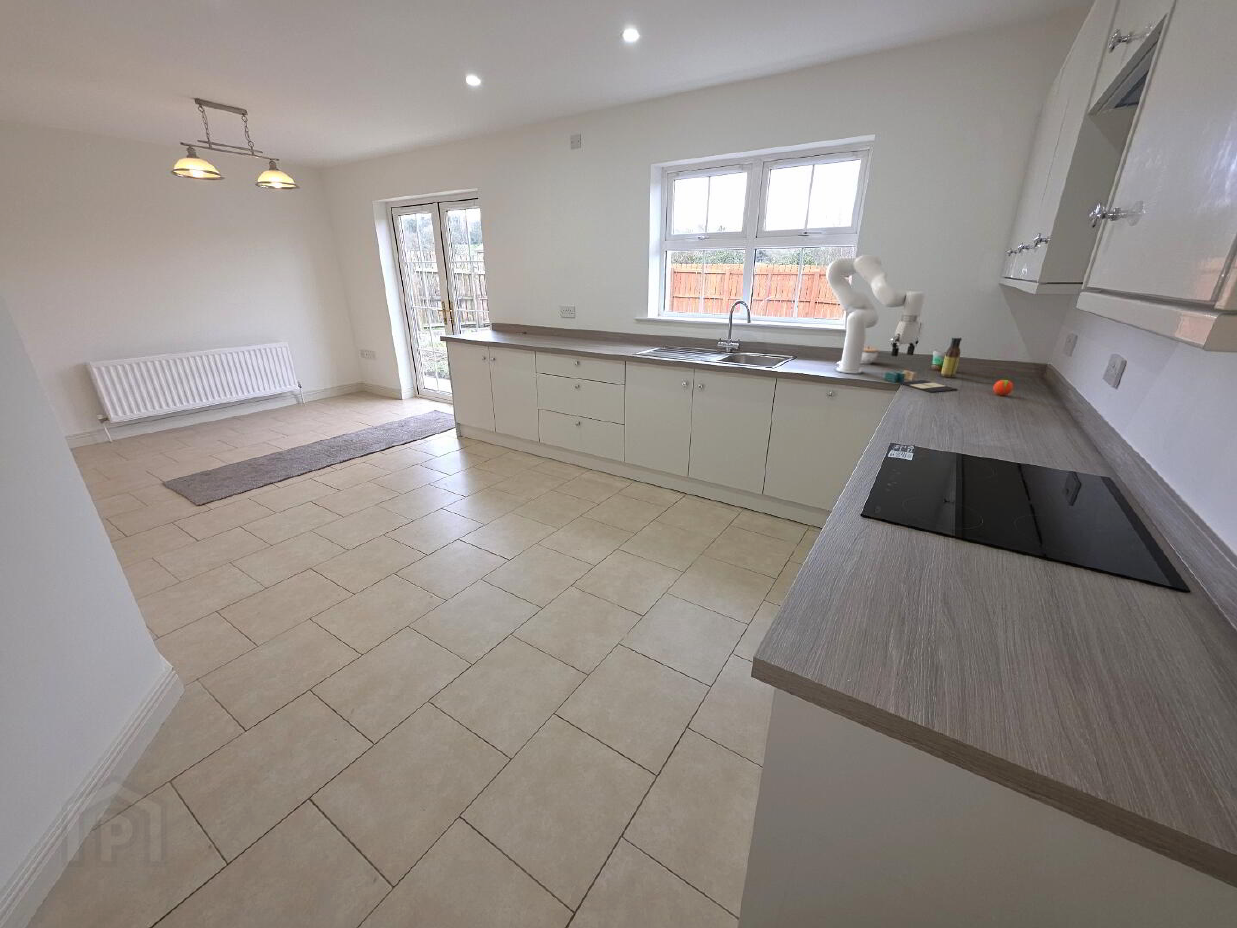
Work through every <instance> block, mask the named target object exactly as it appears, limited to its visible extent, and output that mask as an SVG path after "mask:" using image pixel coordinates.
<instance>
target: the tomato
mask: <svg viewBox="0 0 1237 928" xmlns="http://www.w3.org/2000/svg"><path fill="white" fill-rule="evenodd" d="M992 389H993V392H994V394H996V395H998V396H1007V395H1009V394H1011V392H1012V391H1013V389H1014V385H1013V382H1011V381H1010V380H1008V379H1000V380H998V381H995V383H994V385H993V388H992Z"/></svg>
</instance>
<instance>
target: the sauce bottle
mask: <svg viewBox="0 0 1237 928" xmlns="http://www.w3.org/2000/svg"><path fill="white" fill-rule="evenodd" d="M961 341H962V337H960V336H952V337H951V342H950V346H949V347H948V349H947V350H946V351H945V352H946V355H945V359H944V363H943V367H942V371H940V373H941V374H940V376H941V377H943V378H950V379H951V378H955V377H956V373H957V369H958V366H959V362H960V356H961V348H960V345H961Z"/></svg>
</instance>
